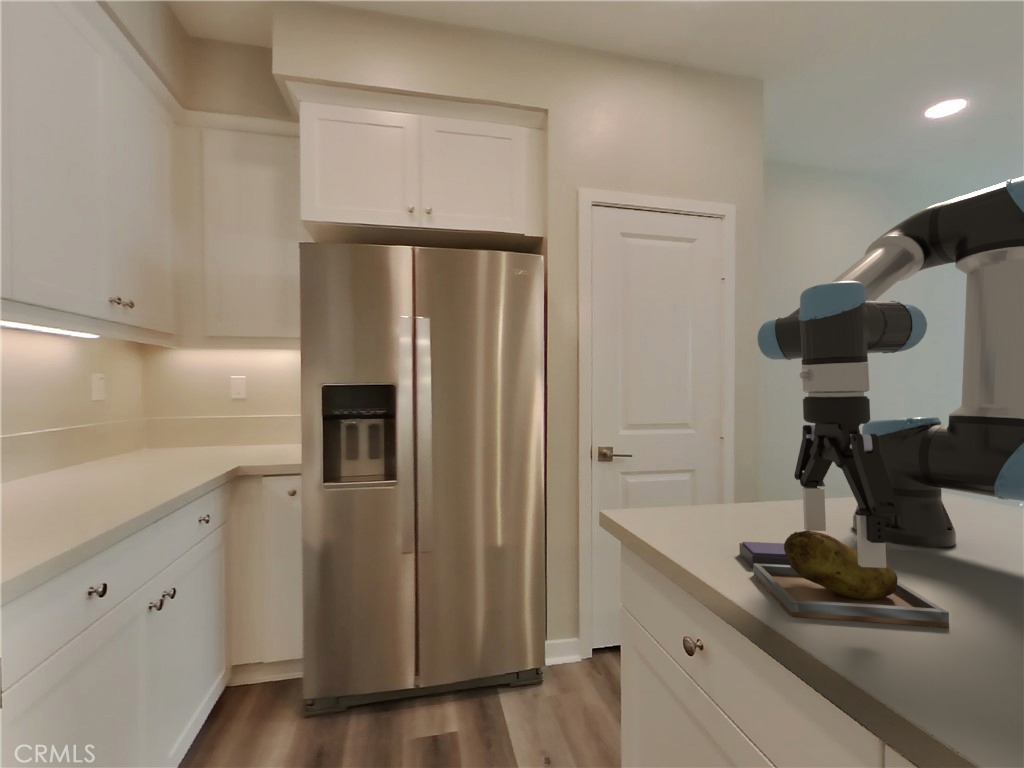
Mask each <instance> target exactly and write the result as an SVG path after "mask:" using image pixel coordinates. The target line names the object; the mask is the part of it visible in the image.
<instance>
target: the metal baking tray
mask: <svg viewBox="0 0 1024 768" xmlns="http://www.w3.org/2000/svg"><path fill="white" fill-rule="evenodd" d="M753 567H754V568H753V576H754V577H755V578H756V579H757V580H758V581H759V583H760V584H761V585H763V587H764V588H765V590H767V591H768V592H769V594H770V595H771V596H772V597H773V598H774V599H775V600H776V601H777V602H778V603H779V605H780V606H781V607H782V608H783V609H784V610H785V611H786V612H787V613H788V615H790V617H795V618H797V617H798V618H811V619H812V618H813V619H824V620H839V621H840V620H841V621H852V622H853V621H855V622H870V623H883V624H896V625H897V624H898V625H910V626H911V625H912V626H924V627H926V626H927V627H938V628H939V627H940V628H941V627H942V628H950V613H949V611H947V609H944V608H942V607H941V606H939V605H938V604H936V603H934V602H933V601H931V600H929V599H927V598H926V597H925V596H922V595H921V594H920V593H918V592H916V591H915V590H913V589H911V588H910V587H908V586H906V585H905V584H903V583H901V582H900V581H898V580H897V588H896V590H895V592H894V593H893V594H891V595H889V596H886V597H883V598H879V599H870V600H861V599H853V598H848V597H844V596H841V595H838V594H835V593H833V592H831V591H829V590H828V589H826V588H825V587H823V586H821V585H819V584H816V583H814V582H811V581H809V580H806V579H804V578H802V577H801V575H799V574H798V573H797V572H796V571H795V570H794V569H793V568H791V566H790V565H775V564H756V563H753Z"/></svg>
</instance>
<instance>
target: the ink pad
mask: <svg viewBox="0 0 1024 768" xmlns="http://www.w3.org/2000/svg"><path fill="white" fill-rule="evenodd" d="M784 543H785V542H784ZM784 543H783V542H780V543H779V542H759V541H758V542H756V541H742V542H740V543H739V555H740V557H742V559H743V560H744V561H745V562H746V563H747V564H748V565H749V566H750V567H751V568H752V569H754V567H753V563H756V564H775V565H789V560H788V558H787V556H786V554H785V551H784Z"/></svg>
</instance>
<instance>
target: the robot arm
mask: <svg viewBox="0 0 1024 768" xmlns="http://www.w3.org/2000/svg"><path fill="white" fill-rule="evenodd" d="M952 263H955V265H954V266H955V268H956V269H957V270H959V271H961V272H963V273H964V274H966V283H965V284H966V285H965V310H964V311H965V312H964V313H965V315H964V333H963V334H964V336H963V337H964V339H963V363H962V385H961V386H962V387H961V389H962V390H961V405H960V406H959V407H958V408H956V409H955V410H954V411H952V412H950V413H949V414H948V424H942V421H941V420H940V418H939V417H938V416H927V417H926V416H925V417H923V416H922V417H921V416H920V417H907V418H889V419H876V420H875V419H874V420H871V405H870V403H871V402H870V398H868V396H867V395H865V393H866V392H869V391H870V377H869V376H870V375H869V359H868V354H876V353H878V354H879V353H882V354H890V353H891V354H895V353H898V352H899V353H900V352H903V351H904V352H905V351H907V350H910V349H913V348H914V347H915V346H917V345H918V344H919V343H921V341H922V340H923V338H924V337H925V335H926V333H927V329H928V323H927V322H928V321H927V317H926V316H925V314H924V313H923V311H922V310H921V309H919V308H918V306H917V307H916V306H914V305H913V304H909V303H905V302H900V301H896V300H890V301H883V300H882V301H881V300H878V299H879V298H880V297H881V296H883V295H884V294H885V293H886V292H887V291H889V289H891V288H892V287H893V286H894V285H896V283H898V282H900V281H905V280H908V279H909V278H911V277H913V276H914V275H916V274H917V273H918V272H921V271H923V270H926V269H930V268H934V267H938V266H942V265H943V266H944V265H948V264H952ZM757 345H758V347H759V350H760V352H761V354H763V356H765V357H766V358H767V359H771V360H785V361H791V360H797V359H801V367H802V368H801V371H802V372H801V371H800V373H799V378H800V379H802V391H803V392H804V393H805V394H806V393H807V396H804V398H802V418H803V420H804V422H807V423H809V424H803V425H802V438H801V443H800V448H799V452H798V458H797V462H796V465H795V466H796V467H795V469H794V473H793V474H794V479H795V480H796V481H799V482H800V486H801V487H802V501H803V504H802V505H803V506H802V507H803V525H804V526H803V527H804V528H803V529H804V531H813V532H827V531H826V530H827V525H826V524H827V522H826V521H827V519H826V497H825V488H823V487H826V484H825V481H824V479H825V477H826V476H827V473H828V472H829V469H830V467H831V466H832V464H833V463H834V464H835V466H836V467H837V468H839V469H840V470H842V473H843V475H844V477H845V479H846V482H847V483H848V486H849V488H850V491H851V493H852V494H853V496H854V499H855V501H856V504H857V506H856V508H855V510H854V513H853V516H852V527H853V529H854V530H855V531H856V543H857V545H856V547H857V551H858V565H860V566H861V567H876V568H886V565H887V552H886V551H887V550H886V541H887V542H890V543H895V544H899V545H900V544H901V545H906V546H914V547H924V548H947V547H948V548H949V547H953V546H955V545H956V543H957V538H956V537H957V536H956V534H957V533H956V530H955V527H954V525H953V523H952V521H951V518H950V516H949V513H948V511H947V509H946V507H945V504H944V502H943V500H942V489H945V490H950V491H957V492H963V493H968V494H969V493H970V494H975V495H980V496H986V497H992V498H997V499H999V500H1006V501H1009V500H1013V501H1020V502H1024V176H1021V177H1018V178H1014V179H1007V180H1006V181H1004V182H1001V183H998V184H996V185H992V186H990V187H985V188H983V189H981V190H977V191H973V192H971V193H968V194H965V195H962V196H958V197H955V198H952V199H949V200H946V201H944V202H943V201H941V202H939V203H936V204H933V205H931V206H929V207H926V208H924V209H921V210H920V211H918V212H915V213H914V214H912V215H911V216H909V217H908V218H906V219H904V220H902V221H901V222H899V223H897V224H896V225H895V226H893V227H892V228H890V229H889V230H888V231H886V232H885V233H884V234H882V235H880V236H879V237H878V238H877V239H876V240H875V241H873V242H871V244H869V246H868V247H867V249H866V250H865V253H864V256H862V257H861V258H860V259H859V260H857V261H856V262H855V263H854V264H852V265H851V266H849V268H847V269H846V270H845V271H843V272H842V273H841V274H840V275H838V276H837V277H836V278H835V279H834V280H832V281H831V282H827V283H822V284H818V285H813V286H810V287H808V288H806V289H804V290H803V291H802V292H801V294H800V296H799V307H798V308H796V309H795V310H793V312H791V313H790V314H789V315H787V316H784V317H776V318H775V319H771V320H767V321H765V322H764V323H762V325H761V326H760V328H759V329H758V333H757ZM861 425H863V426H862V429H861V430H860V426H861ZM860 431H861V432H860Z"/></svg>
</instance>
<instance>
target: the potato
mask: <svg viewBox="0 0 1024 768" xmlns="http://www.w3.org/2000/svg"><path fill="white" fill-rule="evenodd" d="M784 551H785V554H786V556H787V558H788V560H789V565H790V566H791V568H793V569H794V570H795V571H796V572H797V573H798V574H799V575H801V577H802V578H804V579H806V580H809V581H811V582H814V583H816V584H819V585H821V586H823V587H825V588H826V589H828V590H829V591H831V592H833V593H835V594H838V595H841V596H844V597H848V598H853V599H861V600H870V599H879V598H883V597H886V596H889V595H891V594H893V593H894V592H895V590H896V588H897V581H898V576H897V574H896V572H895V571H894V570H893V569H892V568H891V567H890V566H889V565H888V564H886V568H876V567H861V566H860V565H858V549H857V550H856V549H854V548H853V547H850V546H848V545H847V544H844V543H843V542H841V541H840V540H839V539H836V537H833V536H831V535H828V534H825V533H822V532H820V531H807V530H802V531H795V532H793V533H790V535H789V536H788V537H786V539H785V541H784Z"/></svg>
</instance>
